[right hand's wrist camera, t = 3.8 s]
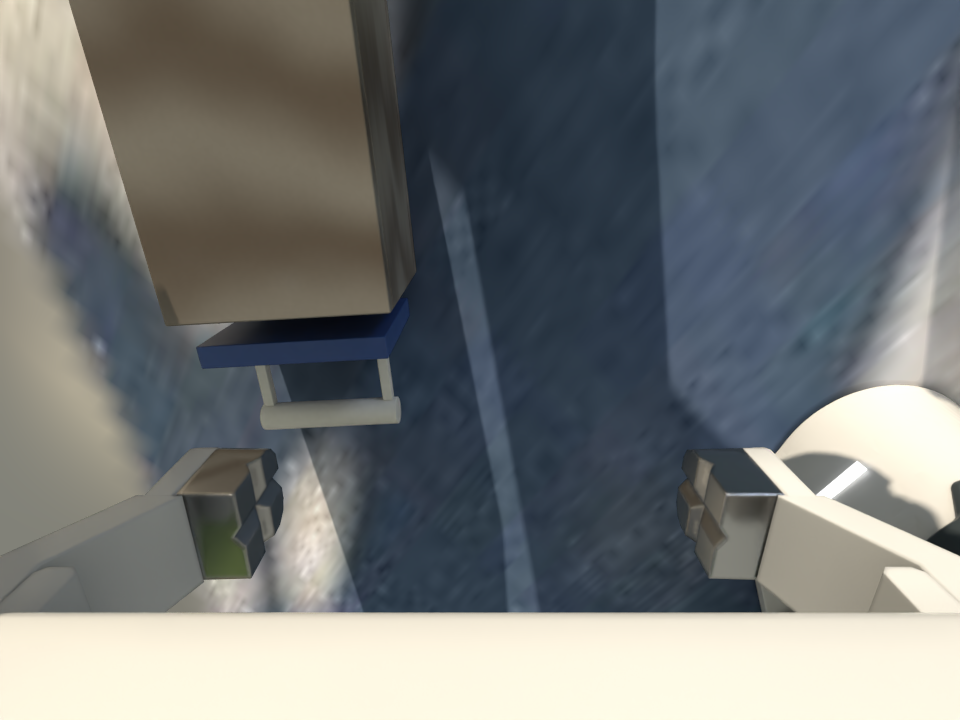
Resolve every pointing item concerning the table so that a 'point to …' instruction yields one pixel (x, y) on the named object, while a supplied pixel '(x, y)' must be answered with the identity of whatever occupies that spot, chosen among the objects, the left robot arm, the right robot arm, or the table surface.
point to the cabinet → (257, 152)
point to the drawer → (313, 345)
